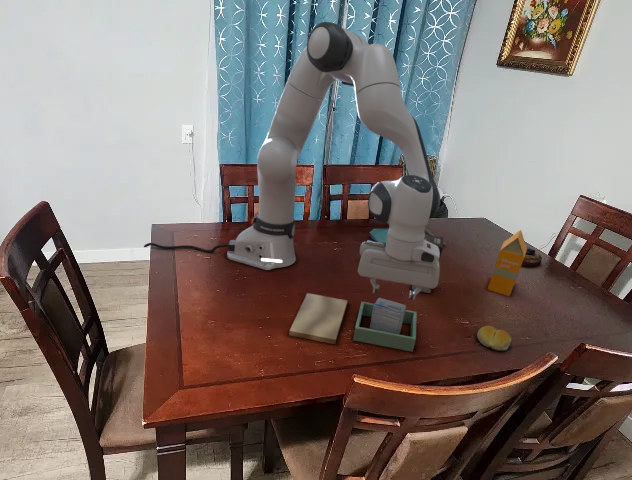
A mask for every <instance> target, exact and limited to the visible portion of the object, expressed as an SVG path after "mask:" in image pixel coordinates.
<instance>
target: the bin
mask: <svg viewBox="0 0 632 480" xmlns="http://www.w3.org/2000/svg"><path fill="white" fill-rule="evenodd" d="M374 304H375V303H373V302H372V303H371V302H366V301H361V303H360V306H359V311H358V315H357V317H356V318H357V319H356V323H355V328H354V332H353V333H354V334H353V337H352V338H353V339H352V341H355V342H358V343H359V342H360V343H365V344H370V345H376V346H381V347H386V348H390V349H396V350H400V351H401V350H402V351H405V352H414V348H415V345H416V340H417V313H418V311H416V310H415V311H413V310H409V309H405V313H404V318H403V322H402V324H407V325H410V335H409V336H408V335H404V334H400V333H399V334H394V333H388V332H383V331H378V330H373V329H370V328H367V327H363V326H362V327H361V322H362V317H369V318H372V313H373V307H374Z"/></svg>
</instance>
